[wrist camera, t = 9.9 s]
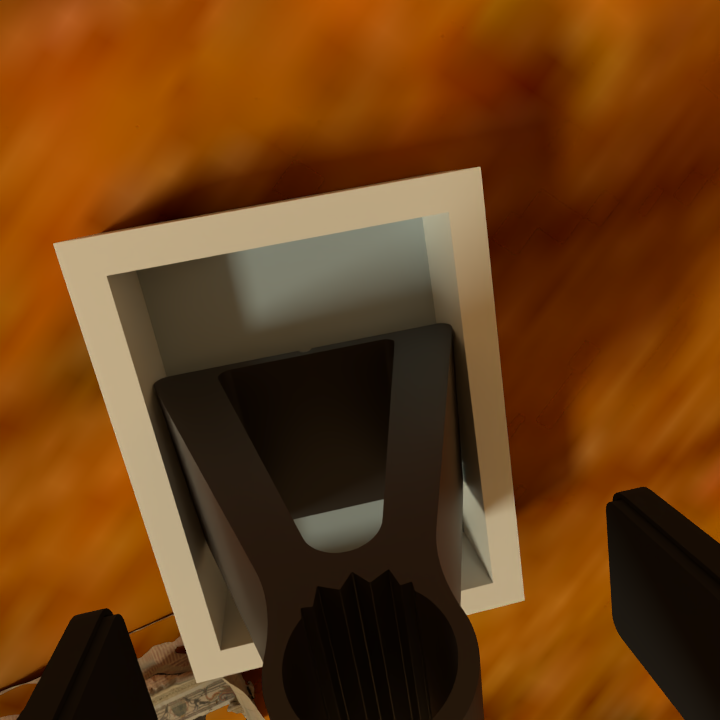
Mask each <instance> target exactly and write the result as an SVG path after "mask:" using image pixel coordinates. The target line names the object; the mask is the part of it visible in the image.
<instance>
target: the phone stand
mask: <svg viewBox="0 0 720 720" xmlns="http://www.w3.org/2000/svg"><path fill="white" fill-rule="evenodd" d="M154 389H155V392H156V395H157V398H158V401H159V404H160V407H161V410H162V413H163V416H164V419H165V422H166V424H167V427H168V430H169V433H170V436H171V439H172V442H173V445H174V448H175V451H176V454H177V457H178V460H179V463H180V466H181V469H182V472H183V475H184V478H185V481H186V484H187V487H188V490H189V493H190V496H191V498H192V501H193V504H194V507H195V510H196V513H197V516H198V519H199V522H200V525H201V528H202V531H203V534H204V537H205V540H206V543H207V545H208V547H209V549H210V551H211V553H212V555H213V557H214V559H215V562H216V564H217V566H218V568H219V570H220V572H221V574H222V576H223V579H224V581H225V583H226V585H227V587H228V589H229V591H230V593H231V596H232V598H233V600H234V602H235V604H236V606H237V608H238V610H239V613H240V615H241V617H242V619H243V621H244V623H245V625H246V627H247V630H248V632H249V634H250V636H251V638H252V640H253V642H254V644H255V647H256V649H257V651H258V653H259V655H260V657H261V659H262V661H263V666H262V691H263V697H264V701H265V705H266V708H267V711H268V714H269V717H270V720H484V713H483V698H482V683H481V669H480V655H479V647H478V642H477V638H476V635H475V632H474V629H473V627H472V624H471V622H470V620H469V619H468V617H467V615H466V613H465V612H464V610H463V609H462V607H461V568H462V523H463V472H462V458H461V444H460V430H459V416H458V403H457V389H456V375H455V361H454V348H453V334H452V326H451V325H450V324H446V323H437V324H432V325H427V326H422V327H417V328H411V329H406V330H401V331H396V332H391V333H386V334H381V335H376V336H371V337H366V338H361V339H356V340H351V341H346V342H340V343H335V344H330V345H325V346H320V347H315V348H311V350H310V351H307V352H300V351H295V352H290V353H285V354H280V355H275V356H269V357H264V358H259V359H254V360H249V361H244V362H239V363H234V364H229V365H224V366H219V367H214V368H209V369H204V370H198V371H193V372H188V373H183V374H178V375H173V376H168V377H164V378H162V379H160V380H158V381H156V382H155V383H154ZM383 499H384V504H383V518H382V524H381V527H380V529H379V531H378V533H377V534H376V535H375V536H374V537H373V538H372V539H371V540H370V541H369V542H368V543H366V544H365V545H363V546H361V547H359V548H357V549H354V550H351V551H347V552H341V553H328V552H323V551H319V550H316V549H314V548H312V547H311V546H309V545H308V544H307V543H306V542H305V540H304V539H303V537H302V535H301V534H300V532H299V530H298V528H297V526H296V524H295V522H294V519H298V518H303V517H307V516H311V515H316V514H320V513H325V512H329V511H334V510H338V509H343V508H347V507H351V506H356V505H360V504H365V503H369V502H374V501H378V500H383Z"/></svg>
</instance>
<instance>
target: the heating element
mask: <svg viewBox="0 0 720 720" xmlns="http://www.w3.org/2000/svg"><path fill="white" fill-rule="evenodd" d="M173 615H174V614H173ZM170 616H172V615H170ZM170 616H168V617H170ZM166 618H167V617H166ZM164 619H165V618H164ZM161 620H163V619H161ZM159 621H160V620H159ZM157 622H158V621H157ZM154 623H155V622H154ZM152 624H153V623H152ZM147 626H149V625H147ZM147 626H145V627H147ZM145 627H143V628H145ZM143 628H141V629H143ZM141 629H138V630H141ZM138 630H136V631H138ZM136 631H134V632H136ZM131 633H133V632H131ZM131 633H129V634H131ZM183 645H184V643H183V640H182V637H181V636H180V637H179V638H178V639H176V640H175V641H174V642H167V643H163V644H160V645H156V646H153V647H152V648H151V649H150V650H149V651H148V652H147V653H146V654H144V655H143V657H141V658H139V659H138V662H139V665H140V668H141V671H142V674H143V677H144V680H145V683H146V685H147V688H148V691H149V694H150V697H151V700H152V703H153V706H154V709H155V711H156V714H157V717H158V720H206V719H205V717H206V715H207V714H208V713H209V712H212V711H214V710H216V709H219V708H221V707H223V706H225V705H227V704H229V706H228V710H227V711H228V712H230V711H232V712H235V713H242V714H243V715H244V717H246V718H247V719H246V720H265V719H264V718H263V717H262V715H261V714H260V712H259V711H258V710H257V708H256V705H255V702H254V700H253V699H254V698H255V696H254V687H253V684H252V682H251V681H248V682H247V683H248V684H249V685H246V684H245V680H244V679H243V677H242V675H241V672H240V673H236V674H232V675H228V676H224V677H220V678H216V679H212V680H208V681H204V682H200V683H196V680H195V677H194V674H193V671H192V668H191V665H190V662H189V658H188V655H187V654H180V653H176V651H175V649H176V648H177V647H178V646H183ZM40 678H41V677H39V678H37V679H35V680H33V681H31V682H28V683H24V684H29V683H38V682H39V680H40ZM21 685H23V684H21ZM17 686H20V685H17ZM17 686H14V687H11V688H9V689H6V690H4V691H1V692H0V695H1V694H3V693H5V692H7V691H9V690H11V689H13V688H15V687H17ZM250 695H251V696H250ZM18 716H19V715H11V716H5V717H1V718H0V720H16V719H17V718H18Z"/></svg>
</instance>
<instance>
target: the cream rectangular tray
mask: <svg viewBox="0 0 720 720" xmlns="http://www.w3.org/2000/svg"><path fill="white" fill-rule="evenodd" d="M53 245H54V248H55V251H56V254H57V257H58V260H59V263H60V266H61V269H62V273H63V276H64V279H65V282H66V285H67V288H68V291H69V294H70V297H71V300H72V303H73V306H74V309H75V312H76V315H77V318H78V322H79V325H80V328H81V331H82V334H83V337H84V340H85V343H86V346H87V349H88V352H89V355H90V358H91V361H92V364H93V367H94V371H95V374H96V377H97V380H98V383H99V386H100V389H101V392H102V395H103V398H104V401H105V404H106V407H107V410H108V413H109V416H110V420H111V423H112V426H113V429H114V432H115V435H116V438H117V441H118V444H119V447H120V450H121V453H122V456H123V459H124V462H125V466H126V469H127V472H128V475H129V478H130V481H131V484H132V487H133V490H134V493H135V496H136V499H137V502H138V505H139V508H140V511H141V515H142V518H143V521H144V524H145V527H146V530H147V533H148V536H149V539H150V542H151V545H152V548H153V551H154V554H155V557H156V560H157V564H158V567H159V570H160V573H161V576H162V579H163V582H164V585H165V588H166V591H167V594H168V597H169V600H170V603H171V606H172V609H173V613H174V616H175V619H176V622H177V625H178V628H179V631H180V634H181V637H182V640H183V643H184V646H185V649H186V652H187V655H188V658H189V662H190V665H191V668H192V671H193V674H194V677H195V680H196V683H200V682H204V681H208V680H212V679H216V678H220V677H224V676H228V675H232V674H236V673H240V672H244V671H248V670H251V669H255V668H259V667H262V666H263V661H262V659H261V657H260V655H259V653H258V651H257V649H256V647H255V644H254V642H253V640H252V638H251V636H250V634H249V632H248V630H247V627H246V625H245V623H244V621H243V619H242V617H241V615H240V613H239V610H238V608H237V606H236V604H235V602H234V600H233V598H232V596H231V593H230V591H229V589H228V587H227V585H226V583H225V581H224V579H223V576H222V574H221V572H220V570H219V568H218V566H217V564H216V562H215V559H214V557H213V555H212V553H211V551H210V549H209V547H208V545H207V543H206V540H205V537H204V534H203V531H202V528H201V525H200V522H199V519H198V516H197V513H196V510H195V507H194V504H193V501H192V498H191V496H190V493H189V490H188V487H187V484H186V481H185V478H184V475H183V472H182V469H181V466H180V463H179V460H178V457H177V454H176V451H175V448H174V445H173V442H172V439H171V436H170V433H169V430H168V427H167V424H166V422H165V419H164V416H163V413H162V410H161V407H160V404H159V401H158V398H157V395H156V392H155V389H154V383H155V382H156V381H158V380H160V379H162V378H164V377H168V376H173V375H178V374H183V373H188V372H193V371H198V370H204V369H209V368H214V367H219V366H224V365H229V364H234V363H239V362H244V361H249V360H254V359H259V358H264V357H269V356H275V355H280V354H285V353H290V352H295V351H300V352H307V351H310V350H311V348H315V347H320V346H325V345H330V344H335V343H340V342H346V341H351V340H356V339H361V338H366V337H371V336H376V335H381V334H386V333H391V332H396V331H401V330H406V329H411V328H417V327H422V326H427V325H432V324H437V323H446V324H450V325H451V326H452V334H453V348H454V361H455V375H456V389H457V403H458V416H459V430H460V444H461V458H462V472H463V523H462V568H461V607H462V609H463V610H464V612H465V613H466V615H469V614H473V613H477V612H481V611H485V610H489V609H493V608H497V607H501V606H505V605H509V604H513V603H517V602H521V601H525V600H524V590H523V580H522V570H521V560H520V550H519V540H518V531H517V521H516V511H515V501H514V491H513V481H512V471H511V461H510V452H509V442H508V432H507V422H506V412H505V402H504V392H503V382H502V373H501V363H500V353H499V343H498V333H497V323H496V313H495V303H494V294H493V284H492V274H491V264H490V254H489V244H488V234H487V225H486V215H485V205H484V195H483V185H482V175H481V167H474V168H467V169H459V170H452V171H444V172H437V173H432V174H426V175H421V176H415V177H410V178H404V179H398V180H393V181H387V182H382V183H376V184H371V185H365V186H360V187H354V188H348V189H343V190H337V191H332V192H326V193H321V194H315V195H309V196H304V197H298V198H293V199H287V200H282V201H276V202H270V203H265V204H259V205H254V206H248V207H243V208H237V209H232V210H226V211H220V212H215V213H209V214H204V215H198V216H193V217H187V218H181V219H176V220H170V221H165V222H159V223H154V224H148V225H142V226H137V227H131V228H126V229H120V230H115V231H109V232H103V233H98V234H94V235H89V236H85V237H80V238H76V239H71V240H67V241H63V242H58V243H54V244H53ZM383 504H384V499H383V500H378V501H374V502H369V503H365V504H360V505H356V506H351V507H347V508H343V509H338V510H334V511H329V512H325V513H320V514H316V515H311V516H307V517H303V518H298V519H294V522H295V524H296V526H297V528H298V530H299V532H300V534H301V535H302V537H303V539H304V540H305V542H306V543H307V544H308V545H309V546H311V547H312V548H314V549H316V550H319V551H323V552H328V553H341V552H347V551H351V550H354V549H357V548H359V547H361V546H363V545H365V544H366V543H368V542H369V541H370V540H371V539H372V538H373V537H374V536H375V535H376V534H377V533H378V531H379V529H380V527H381V524H382V518H383Z"/></svg>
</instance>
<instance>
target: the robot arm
mask: <svg viewBox="0 0 720 720" xmlns="http://www.w3.org/2000/svg"><path fill="white" fill-rule="evenodd" d="M606 517H607V534H608V551H609V567H610V584H611V601H612V616H613V621H614V624H615V627H616V629H617V631H618V633H619V635H620V636H621V638H622V639H623V641H624V642H625V643H626V644H627V646H628V647H629V648H630V650H631V651H632V652H633V653H634V655H635V656H636V657H637V659H638V660H639V661H640V663H641V664H642V665H643V666H644V668H645V669H646V670H647V672H648V673H649V674H650V675H651V677H652V678H653V679H654V681H655V682H656V683H657V684H658V686H659V687H660V688H661V690H662V691H663V692H664V693H665V695H666V696H667V697H668V699H669V700H670V701H671V703H672V704H673V705H674V706H675V708H676V709H677V710H678V712H679V713H680V714H681V715H682V717H683V718H684V719H685V720H720V544H719V543H718V542H717V541H715V540H714V539H713V538H712V537H710V536H709V535H708V534H706V533H705V532H704V531H703V530H701V529H700V528H699V527H698V526H696V525H695V524H694V523H692V522H691V521H690V520H689V519H687V518H686V517H685V516H683V515H682V514H681V513H680V512H678V511H677V510H676V509H674V508H673V507H672V506H671V505H669V504H668V503H667V502H665V501H664V500H663V499H662V498H660V497H659V496H658V495H656V494H655V493H654V492H653V491H651V490H650V489H648V488H647V487H640V488H635V489H631V490H626V491H622V492H618V493H616V494H614V496H613V502H609V503H608V504H607V506H606ZM16 720H158V717H157V714H156V711H155V709H154V706H153V703H152V700H151V697H150V694H149V691H148V688H147V685H146V683H145V680H144V677H143V674H142V671H141V668H140V665H139V662H138V659H137V657H136V654H135V651H134V648H133V645H132V642H131V639H130V636H129V633H128V631H127V628H126V625H125V622H124V619H123V617H122V616H121V615H120V614H116V615H113V614H112V612H111V611H110V610H109V609H107V608H105V609H101V610H96V611H92V612H88V613H83V614H79V615H76V616H74V617H73V618H72V619H71V620H70V622H69V624H68V626H67V628H66V630H65V632H64V634H63V636H62V638H61V639H60V641H59V643H58V645H57V647H56V649H55V651H54V653H53V655H52V657H51V659H50V661H49V662H48V664H47V666H46V668H45V670H44V672H43V674H42V676H41V678H40V680H39V682H38V684H37V685H36V687H35V689H34V691H33V693H32V695H31V697H30V699H29V701H28V703H27V705H26V707H25V708H24V710H23V711H22V712H21V714H20V715H19V716H18V718H17V719H16Z"/></svg>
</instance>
